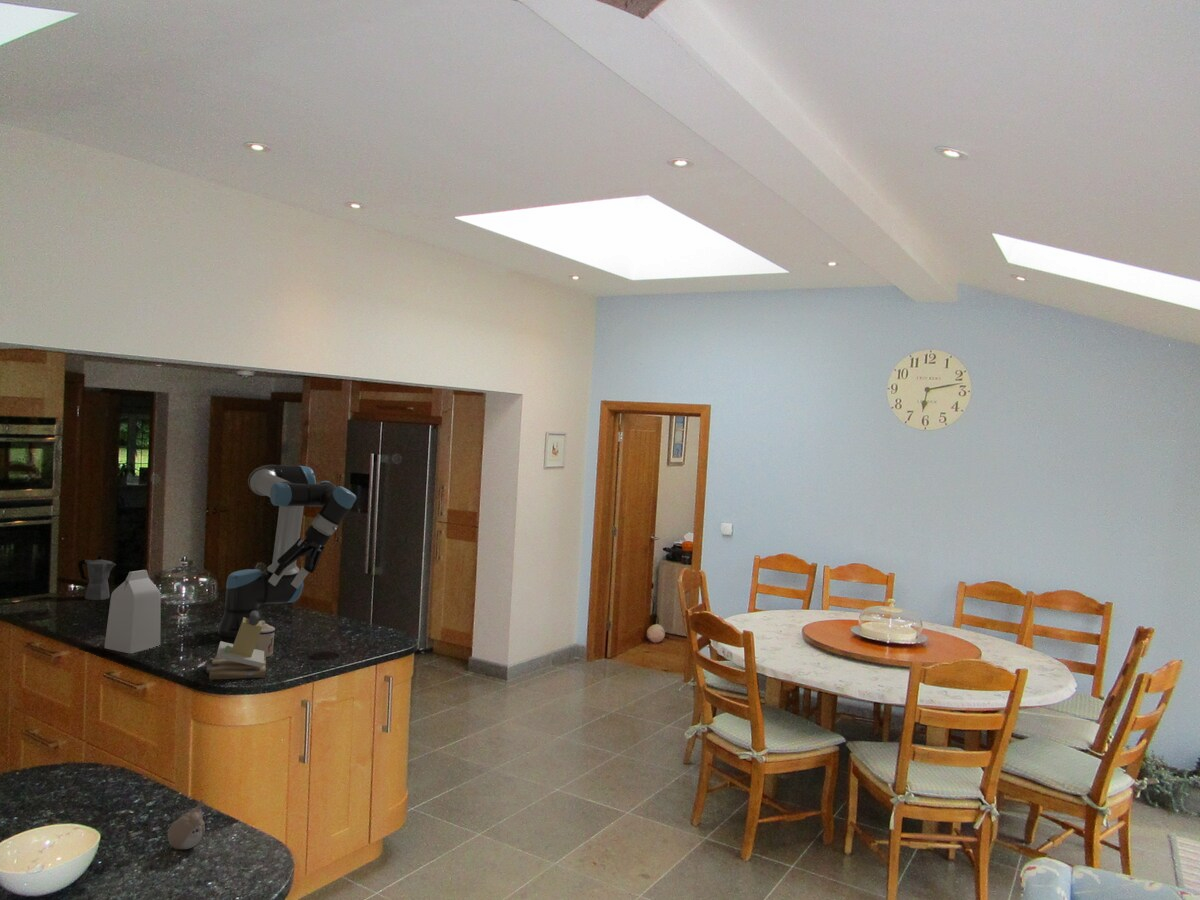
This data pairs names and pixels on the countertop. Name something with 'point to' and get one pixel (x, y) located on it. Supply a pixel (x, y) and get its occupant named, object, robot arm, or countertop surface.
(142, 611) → the milk
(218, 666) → the brown layered stack
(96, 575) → the coffeepot
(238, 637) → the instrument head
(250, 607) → the robot arm
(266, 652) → the teacup with lid
